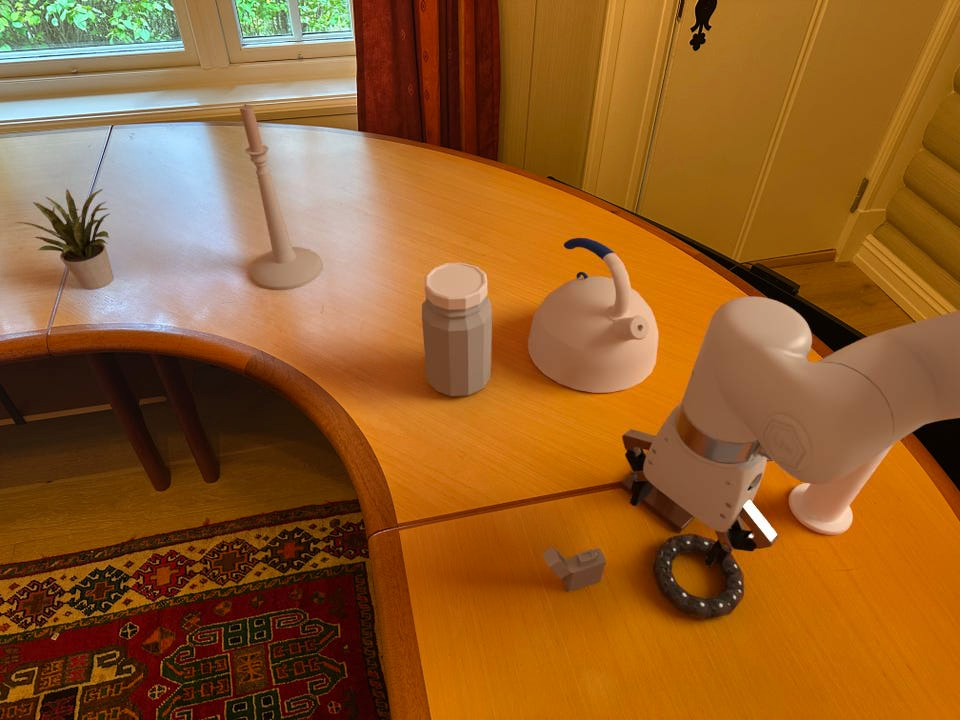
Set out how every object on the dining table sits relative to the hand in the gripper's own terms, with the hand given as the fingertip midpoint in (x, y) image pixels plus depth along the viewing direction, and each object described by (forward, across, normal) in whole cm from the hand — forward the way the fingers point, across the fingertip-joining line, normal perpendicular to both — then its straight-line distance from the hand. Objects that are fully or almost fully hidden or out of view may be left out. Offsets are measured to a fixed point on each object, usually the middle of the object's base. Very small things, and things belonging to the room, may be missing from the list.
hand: (675, 526), depth 66 cm
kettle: (+6, +29, -21) cm, 36 cm away
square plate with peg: (+6, +5, -8) cm, 11 cm away
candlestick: (+7, +81, +4) cm, 81 cm away
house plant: (+7, +100, +30) cm, 104 cm away
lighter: (+6, +5, +11) cm, 13 cm away
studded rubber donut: (+4, -4, 0) cm, 6 cm away
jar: (+6, +38, -1) cm, 38 cm away
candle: (+6, -9, -19) cm, 22 cm away
